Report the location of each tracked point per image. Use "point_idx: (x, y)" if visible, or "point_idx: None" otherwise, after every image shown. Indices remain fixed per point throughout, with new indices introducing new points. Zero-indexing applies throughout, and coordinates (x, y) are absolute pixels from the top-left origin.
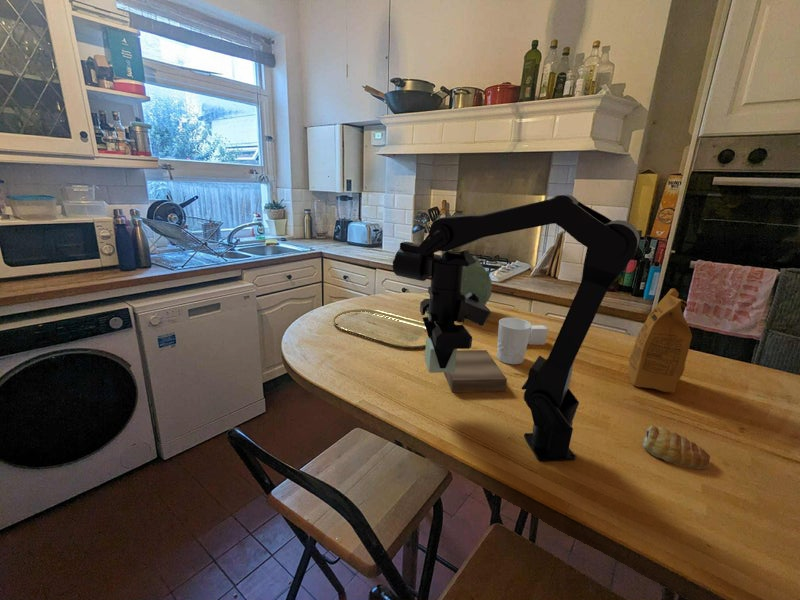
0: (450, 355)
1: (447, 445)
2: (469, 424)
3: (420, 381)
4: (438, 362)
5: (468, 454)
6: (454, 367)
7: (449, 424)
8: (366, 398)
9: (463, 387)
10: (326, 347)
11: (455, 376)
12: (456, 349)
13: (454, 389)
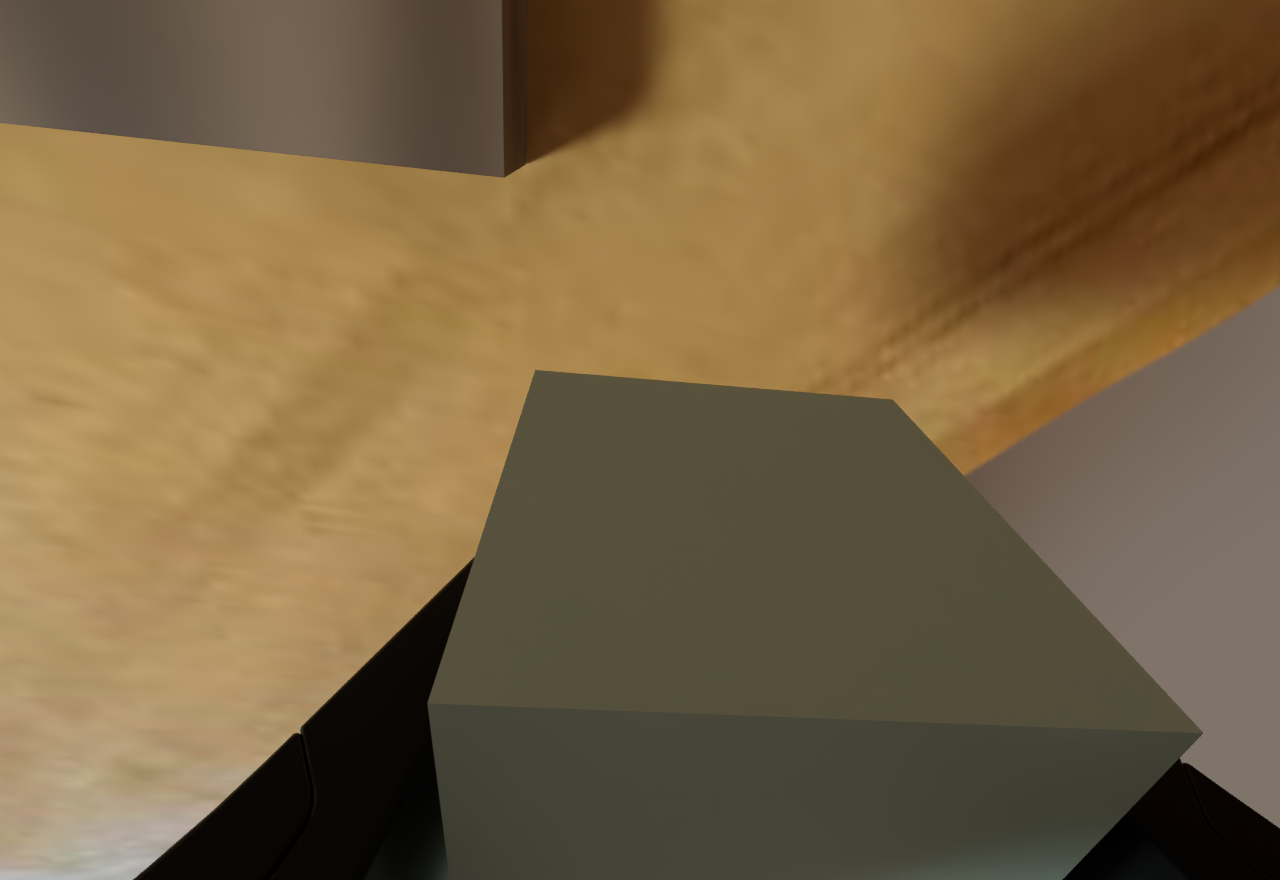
0: None
1: (1059, 388)
2: (958, 175)
3: (363, 376)
4: None
5: (1187, 296)
6: (923, 443)
7: (901, 320)
8: None
9: (517, 38)
10: (32, 788)
11: (425, 117)
12: (1177, 718)
13: (521, 142)
